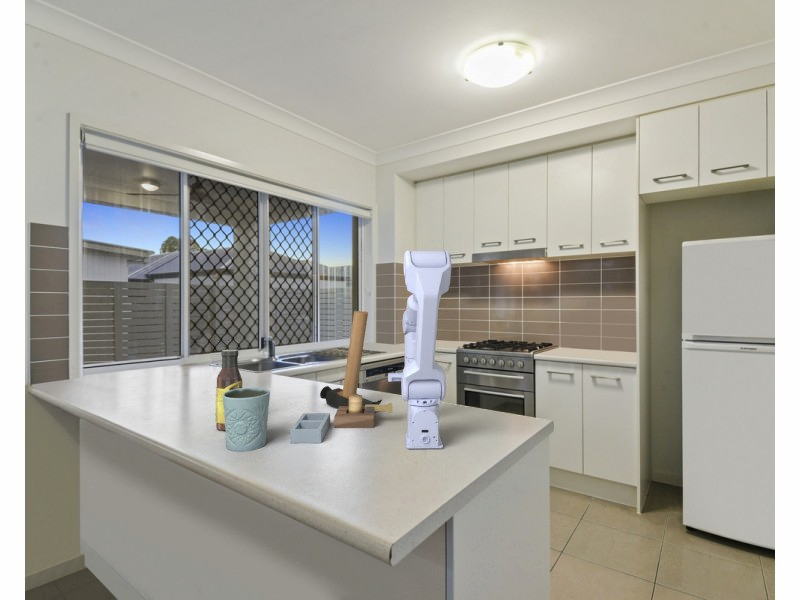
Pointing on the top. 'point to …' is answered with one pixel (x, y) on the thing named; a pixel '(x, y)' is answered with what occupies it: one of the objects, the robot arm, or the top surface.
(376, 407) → the drift key
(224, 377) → the sauce bottle
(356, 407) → the dowel peg
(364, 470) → the top surface
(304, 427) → the divided storage tray
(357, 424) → the socket block
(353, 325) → the hammer
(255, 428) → the teal embossed cup
